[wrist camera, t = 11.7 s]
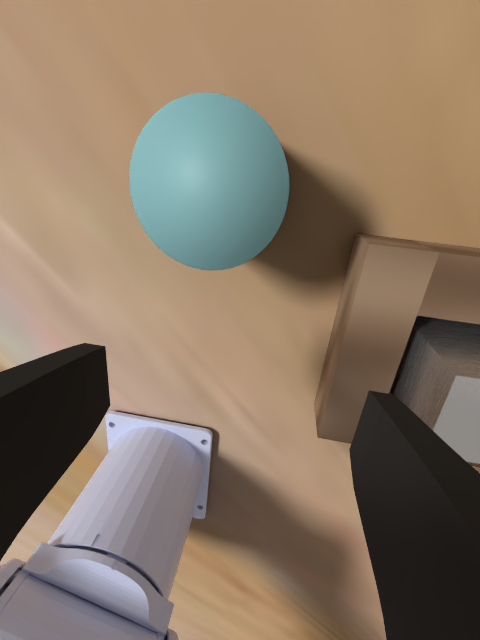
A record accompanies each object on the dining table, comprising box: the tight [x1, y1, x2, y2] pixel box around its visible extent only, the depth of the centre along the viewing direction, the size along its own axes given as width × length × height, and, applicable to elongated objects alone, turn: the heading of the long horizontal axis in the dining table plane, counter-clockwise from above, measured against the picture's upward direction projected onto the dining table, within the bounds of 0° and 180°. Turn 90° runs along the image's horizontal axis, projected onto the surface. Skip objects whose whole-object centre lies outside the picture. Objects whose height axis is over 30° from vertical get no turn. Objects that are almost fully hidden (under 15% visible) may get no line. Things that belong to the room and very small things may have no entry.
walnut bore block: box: [314, 234, 480, 467], centre depth 17 cm, size 11×11×3 cm
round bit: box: [129, 93, 290, 270], centre depth 14 cm, size 6×6×6 cm
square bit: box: [391, 317, 480, 464], centre depth 15 cm, size 4×4×6 cm
